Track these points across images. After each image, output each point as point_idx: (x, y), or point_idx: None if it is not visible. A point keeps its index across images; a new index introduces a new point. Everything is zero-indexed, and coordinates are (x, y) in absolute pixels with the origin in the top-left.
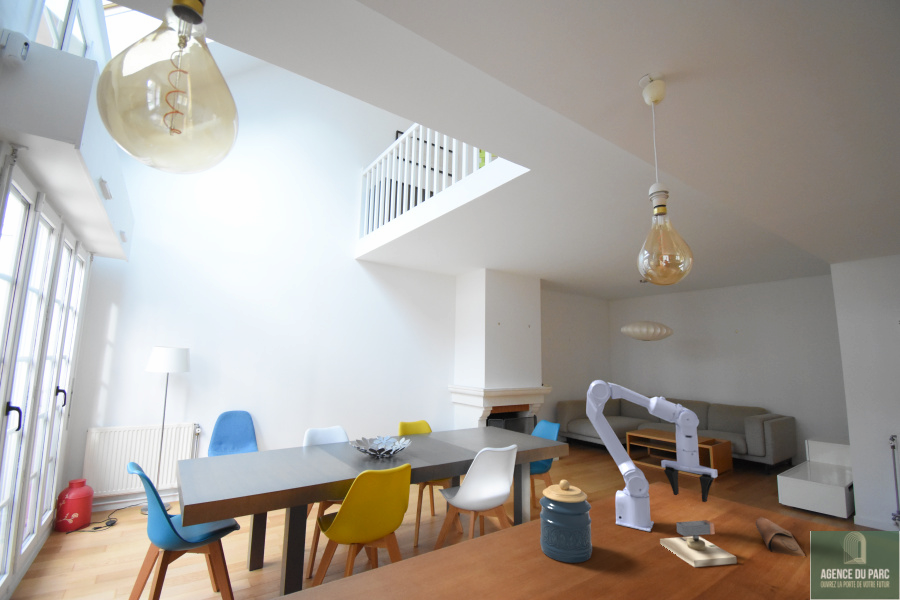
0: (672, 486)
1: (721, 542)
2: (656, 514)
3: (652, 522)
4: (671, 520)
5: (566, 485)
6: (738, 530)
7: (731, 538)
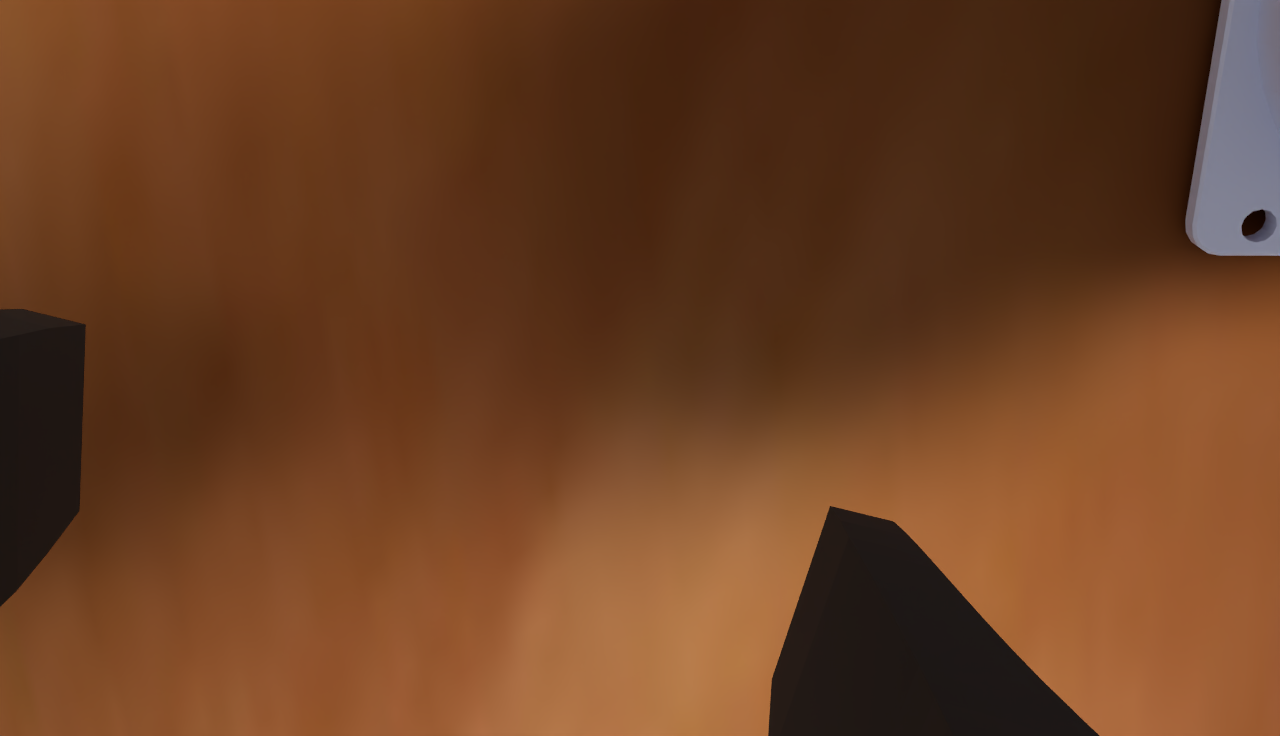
0: (972, 638)
1: (151, 64)
2: (1130, 681)
3: (1218, 182)
4: None
5: None
6: (82, 674)
7: None
